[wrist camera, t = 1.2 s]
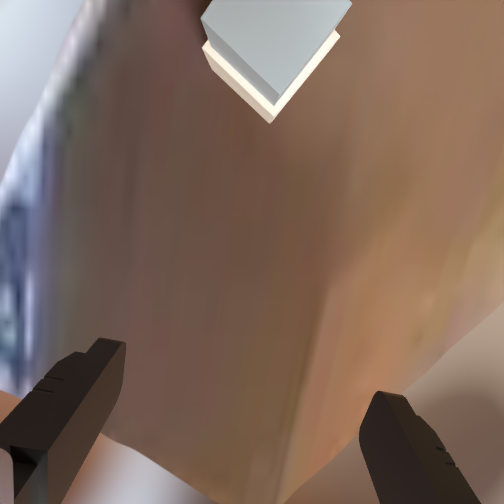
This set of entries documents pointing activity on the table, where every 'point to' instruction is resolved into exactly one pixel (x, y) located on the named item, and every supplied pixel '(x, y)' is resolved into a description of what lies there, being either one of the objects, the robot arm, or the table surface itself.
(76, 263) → the table surface
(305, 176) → the table surface
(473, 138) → the table surface
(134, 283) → the table surface
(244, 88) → the cream base block
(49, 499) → the robot arm
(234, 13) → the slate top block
